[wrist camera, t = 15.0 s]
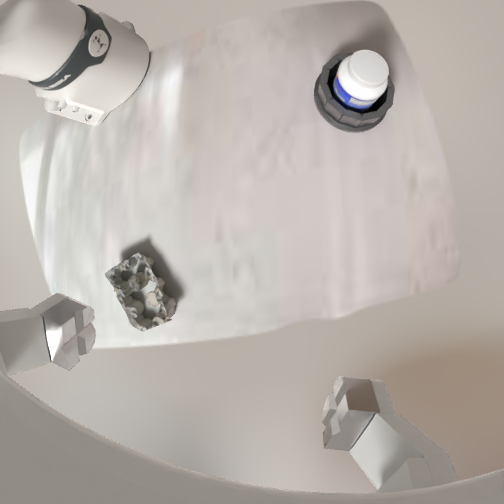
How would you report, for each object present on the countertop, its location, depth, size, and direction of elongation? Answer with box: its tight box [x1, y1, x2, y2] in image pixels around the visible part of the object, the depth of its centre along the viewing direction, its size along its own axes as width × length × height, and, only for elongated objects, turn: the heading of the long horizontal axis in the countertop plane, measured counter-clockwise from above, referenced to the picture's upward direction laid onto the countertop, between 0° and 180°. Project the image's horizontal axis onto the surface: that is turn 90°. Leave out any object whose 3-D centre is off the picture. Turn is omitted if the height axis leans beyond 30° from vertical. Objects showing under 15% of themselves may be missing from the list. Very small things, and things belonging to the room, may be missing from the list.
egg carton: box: [105, 252, 177, 331], centre depth 40 cm, size 11×8×4 cm
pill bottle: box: [332, 50, 389, 113], centre depth 26 cm, size 5×5×10 cm
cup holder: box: [314, 53, 395, 133], centre depth 30 cm, size 10×10×5 cm
